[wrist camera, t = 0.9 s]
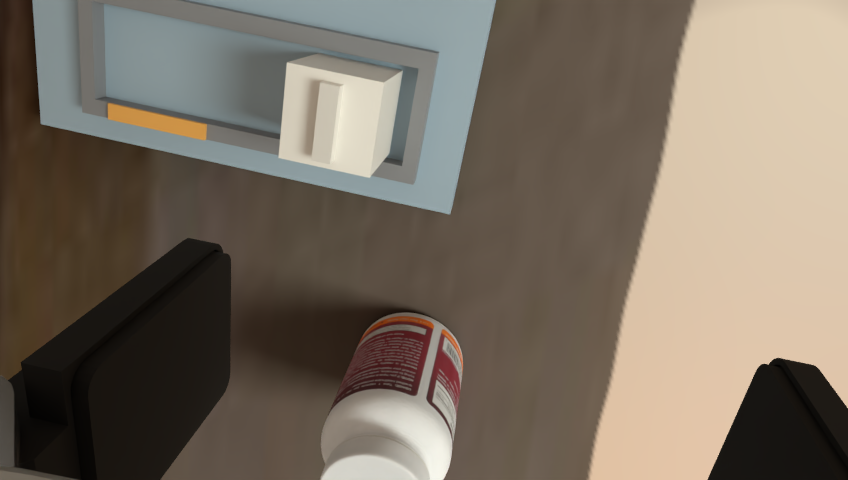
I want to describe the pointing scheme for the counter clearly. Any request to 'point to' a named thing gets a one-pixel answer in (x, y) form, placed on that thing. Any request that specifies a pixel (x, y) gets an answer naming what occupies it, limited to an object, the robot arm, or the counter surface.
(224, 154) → the switch bank
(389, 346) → the pill bottle
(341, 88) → the white block with handle
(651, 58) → the counter surface
